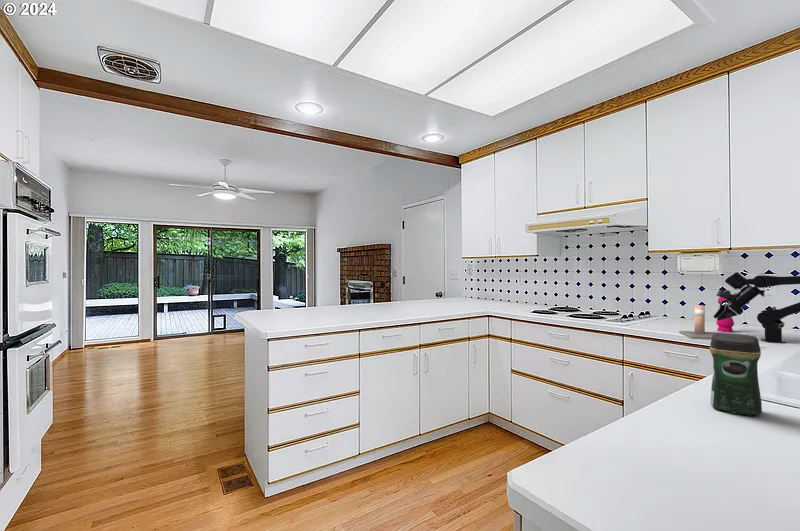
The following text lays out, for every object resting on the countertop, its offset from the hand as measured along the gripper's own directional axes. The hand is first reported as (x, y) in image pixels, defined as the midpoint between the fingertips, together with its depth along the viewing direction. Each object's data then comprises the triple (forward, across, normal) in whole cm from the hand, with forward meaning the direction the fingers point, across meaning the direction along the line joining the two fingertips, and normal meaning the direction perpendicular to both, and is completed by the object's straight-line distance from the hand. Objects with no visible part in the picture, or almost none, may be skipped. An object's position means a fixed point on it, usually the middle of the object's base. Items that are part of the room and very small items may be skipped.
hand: (715, 318), depth 195 cm
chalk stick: (+10, 0, +1) cm, 10 cm away
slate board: (+9, +2, +3) cm, 10 cm away
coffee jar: (+17, +120, -4) cm, 122 cm away
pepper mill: (+2, -20, +11) cm, 23 cm away
